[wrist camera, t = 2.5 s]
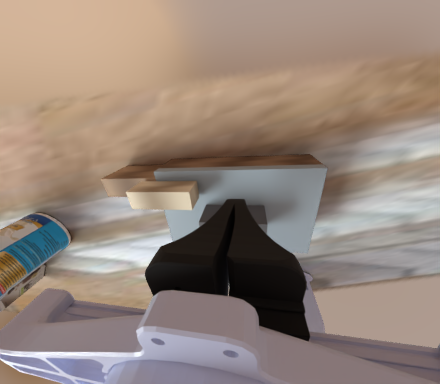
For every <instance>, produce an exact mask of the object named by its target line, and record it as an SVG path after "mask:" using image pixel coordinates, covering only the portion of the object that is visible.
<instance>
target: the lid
mask: <svg viewBox="0 0 440 384" xmlns="http://www.w3.org/2000/svg"><path fill="white" fill-rule="evenodd" d="M327 169H328V168H327V167H326V166H324V165H323V164H317V165H277V166H238V167H198V168H158V169H157V170H155V171H154V175H155V179H156V181H197V185H198V191H199V199H198V201H197V202H196V204H195V206H194V208H193V210H164V211H165V215H166V218H167V222H168V226H169V229H170V233H171V236H172V240H173V241H176V240H178V239H180V238H182V237H184V236H186V235H188V234H189V233H191V232H193V231H194V230H196V229H197V228H199V227H200V226H202V225H203V224H204V223H206V222H207V221H208V220H209V219H210V218H211V217H212V216H213V215H214V214H215V213H216V212H217V211H218V210H219V209H220V207H221V206H222V205H223V204H224V202H225V201H226V200H227V199H245V200H246V205H247V207H248V209H249V211H250V213H251V215H252V216H253V218H254V219H255V221H256V222H257V224H258V225H259V226H260V227H261V229H262V230H263V231H264V232H265V233H266V234H267V235H268V236H269V237H270V238H271V239H272V240H274V241H275V242H276V243H277V244H279V245H280V246H281V247H283V248H284V249H286V250H287V251H289V252H297V253H308V250H309V246H310V241H311V237H312V233H313V229H314V224H315V220H316V216H317V212H318V207H319V203H320V199H321V195H322V190H323V186H324V182H325V178H326V173H327Z"/></svg>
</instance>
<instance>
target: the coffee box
mask: <svg viewBox="0 0 440 384" xmlns="http://www.w3.org/2000/svg"><path fill="white" fill-rule="evenodd" d="M44 271H45V265H44V264H43V265H41V266H40V267H39V268H37V269H36V270H35V271H34V272H32V273H31V274H30V275H29V276H27V277H26V278H25V279H23V280H22V281H21V282H20V283H18V284H17V285H16V286H14V287H13V288H12V289H11V290H9V291H8V293H7V294H6V295H5V296H4V297H3V298H2V299H1V300H0V312H1V311H3V310H4V309H5V308H6V307H7V306H9V305H10V304H11V303H12V302H14V301H15V300H16V299H17V298H18V297H20V296H21V295H22V294H23V293H25V292H26V291H27V290H28V289H29V288H31V287H32V286H33V285H34V284H36V283H37V282H38V281H39V280H40V279H42V278H43V277H44Z"/></svg>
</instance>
